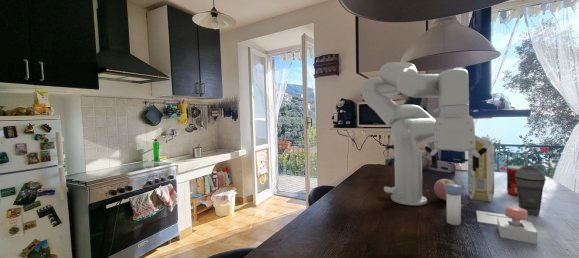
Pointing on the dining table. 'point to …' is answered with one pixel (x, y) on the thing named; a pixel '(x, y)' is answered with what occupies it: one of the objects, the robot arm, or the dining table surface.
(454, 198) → the marker
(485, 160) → the juice carton
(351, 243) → the dining table surface
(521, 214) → the button
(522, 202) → the beverage cup
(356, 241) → the dining table surface
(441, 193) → the apple
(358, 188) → the dining table surface
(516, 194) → the canned food
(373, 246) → the dining table surface
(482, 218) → the paper
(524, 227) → the button box
